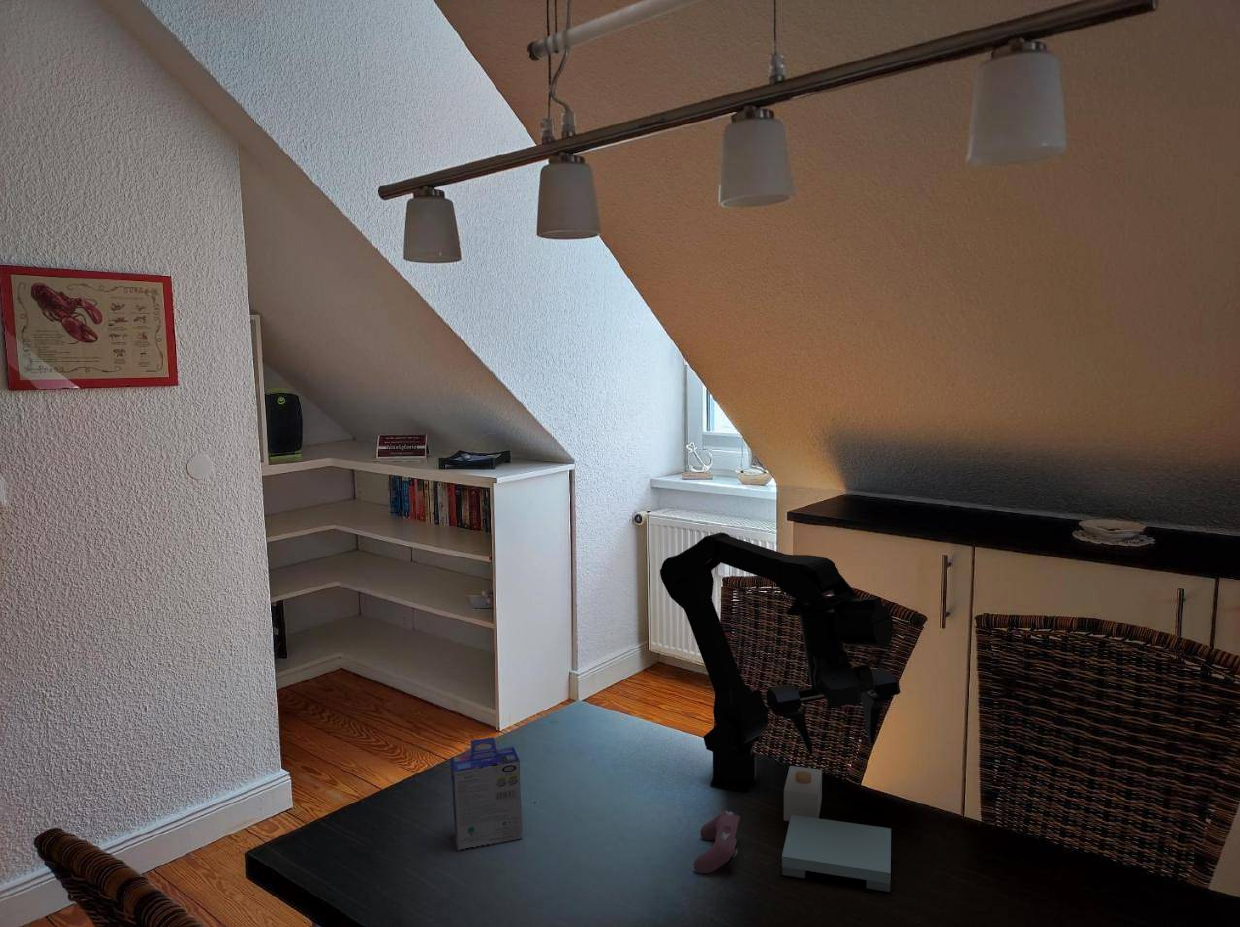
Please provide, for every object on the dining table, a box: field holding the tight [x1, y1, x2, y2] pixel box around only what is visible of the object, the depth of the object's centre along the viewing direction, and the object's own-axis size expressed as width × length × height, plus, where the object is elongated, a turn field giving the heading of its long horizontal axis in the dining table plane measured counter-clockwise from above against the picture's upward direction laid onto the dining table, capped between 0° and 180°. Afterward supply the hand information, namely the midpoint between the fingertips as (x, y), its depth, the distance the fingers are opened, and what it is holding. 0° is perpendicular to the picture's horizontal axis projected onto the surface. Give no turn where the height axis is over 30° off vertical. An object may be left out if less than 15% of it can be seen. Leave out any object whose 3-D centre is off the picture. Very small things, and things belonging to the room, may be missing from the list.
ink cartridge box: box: [449, 737, 524, 851], centre depth 128 cm, size 10×6×14 cm, turn 108°
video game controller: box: [693, 809, 741, 874], centre depth 122 cm, size 10×5×7 cm, turn 168°
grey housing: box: [783, 765, 823, 822], centre depth 134 cm, size 5×8×6 cm, turn 162°
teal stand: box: [781, 815, 892, 893], centre depth 120 cm, size 14×11×3 cm
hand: (841, 748), depth 128 cm, fingers open, 9 cm apart
